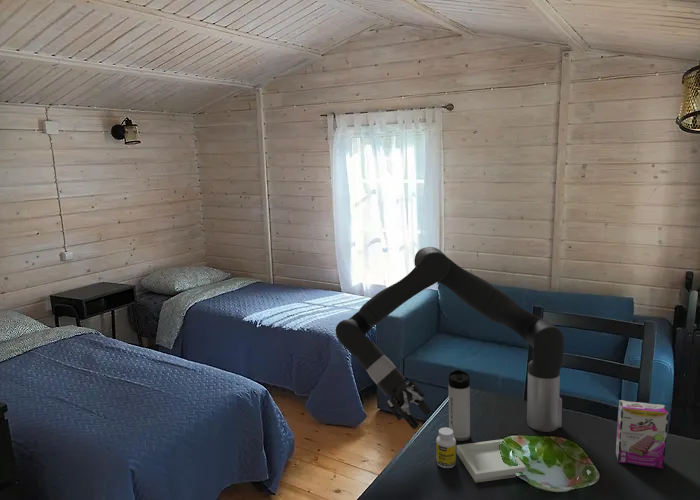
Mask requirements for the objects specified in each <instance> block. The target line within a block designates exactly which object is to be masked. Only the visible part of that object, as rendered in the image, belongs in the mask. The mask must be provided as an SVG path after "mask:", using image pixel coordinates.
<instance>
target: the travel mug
mask: <svg viewBox="0 0 700 500" xmlns="http://www.w3.org/2000/svg"><path fill="white" fill-rule="evenodd" d="M470 379H471V378H470V375H469V373H467V371H466V372H465V371H462V370H461V369H454V371H451V372H449V374H448V428H450V429H452V430H453V437H454V438H455V440H456V442H464V441H467V440H469V439H470V438H471V385H470V384H471V383H470V381H471V380H470Z"/></svg>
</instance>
